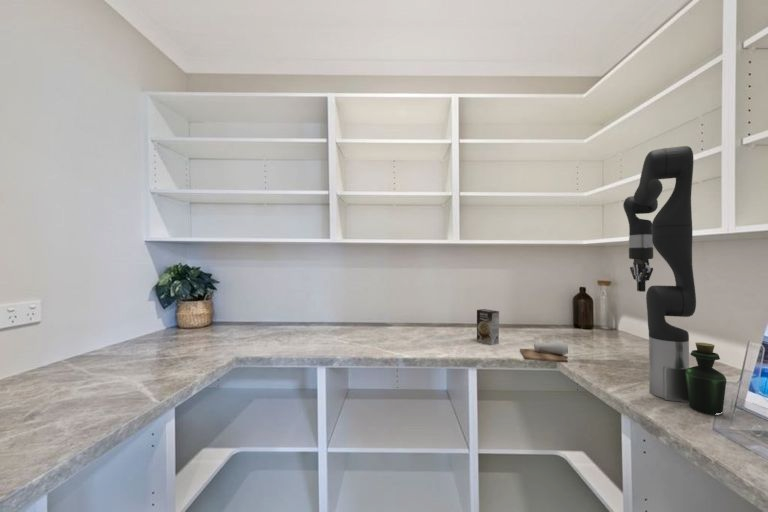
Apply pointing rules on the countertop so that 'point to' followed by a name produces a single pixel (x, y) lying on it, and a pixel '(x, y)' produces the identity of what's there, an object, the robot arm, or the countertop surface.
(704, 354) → the potion bottle
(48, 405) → the countertop surface
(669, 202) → the robot arm
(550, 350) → the salt shaker
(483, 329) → the coffee box
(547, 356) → the walnut board
